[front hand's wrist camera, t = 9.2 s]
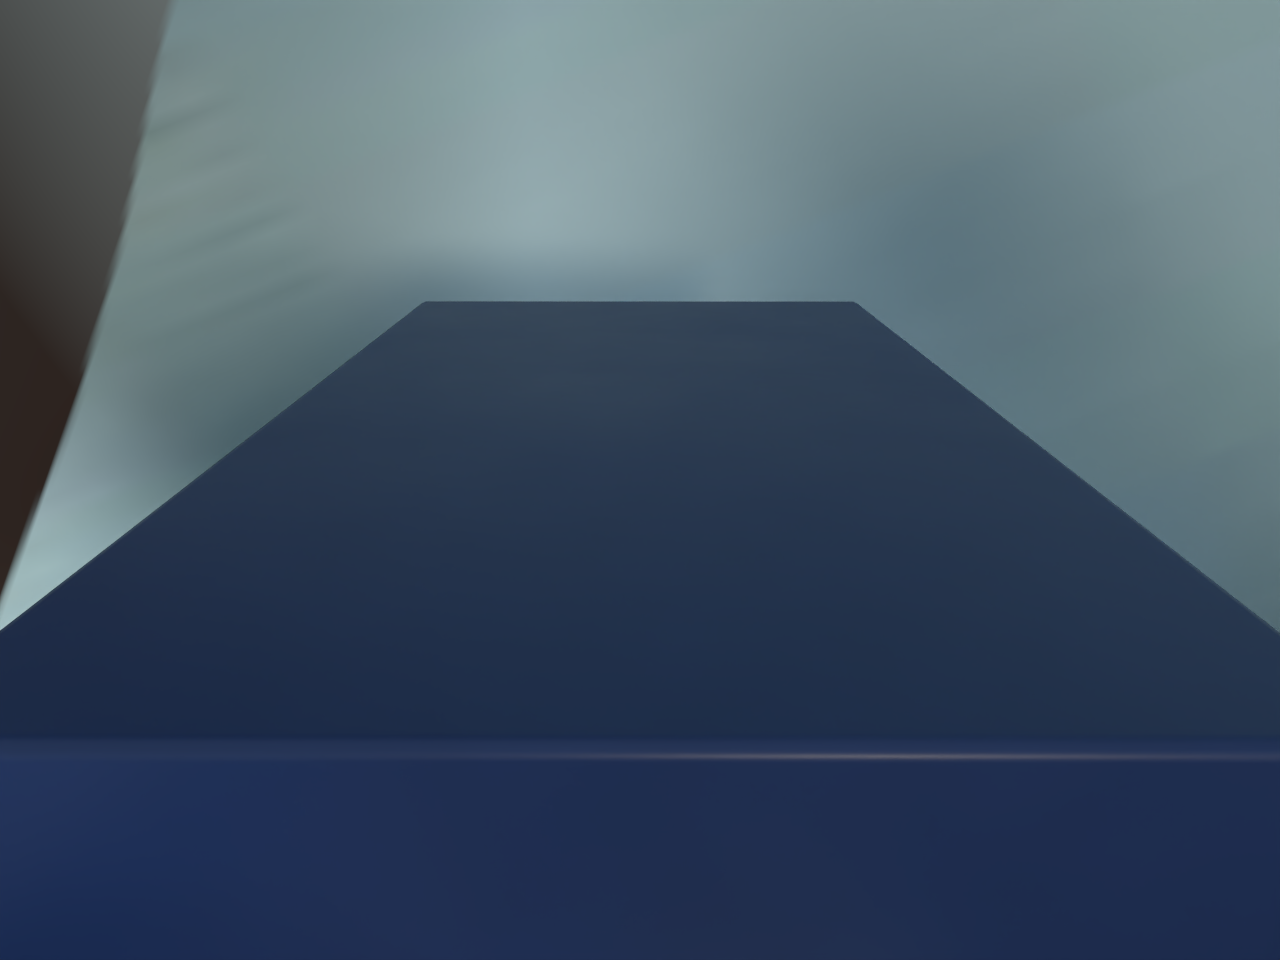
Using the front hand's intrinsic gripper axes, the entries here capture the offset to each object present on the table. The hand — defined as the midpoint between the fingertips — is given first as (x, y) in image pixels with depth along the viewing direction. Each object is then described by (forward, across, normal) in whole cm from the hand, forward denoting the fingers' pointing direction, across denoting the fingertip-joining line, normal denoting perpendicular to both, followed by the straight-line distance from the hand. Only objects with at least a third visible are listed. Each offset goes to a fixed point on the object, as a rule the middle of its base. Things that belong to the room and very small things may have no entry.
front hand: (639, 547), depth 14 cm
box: (+3, 0, -7) cm, 8 cm away
